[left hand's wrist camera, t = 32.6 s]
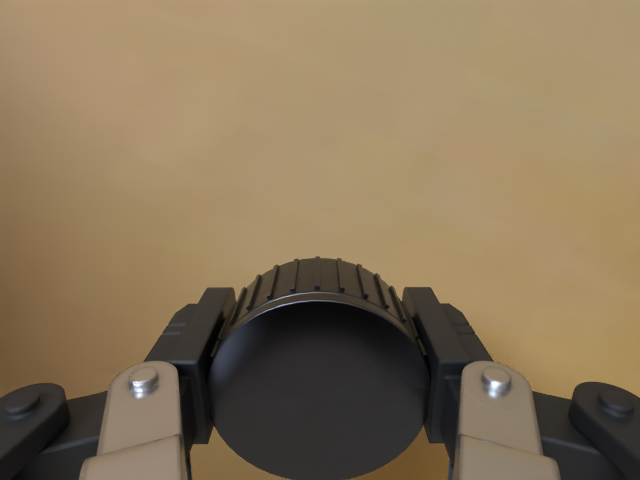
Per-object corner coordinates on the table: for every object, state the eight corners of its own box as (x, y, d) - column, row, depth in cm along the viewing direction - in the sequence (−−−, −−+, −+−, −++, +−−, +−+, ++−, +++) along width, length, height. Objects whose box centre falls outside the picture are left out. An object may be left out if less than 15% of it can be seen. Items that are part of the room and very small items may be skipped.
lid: (277, 437, 12) (268, 509, 10) (189, 300, 11) (156, 351, 8) (438, 379, 11) (465, 444, 9) (370, 222, 10) (384, 257, 8)
